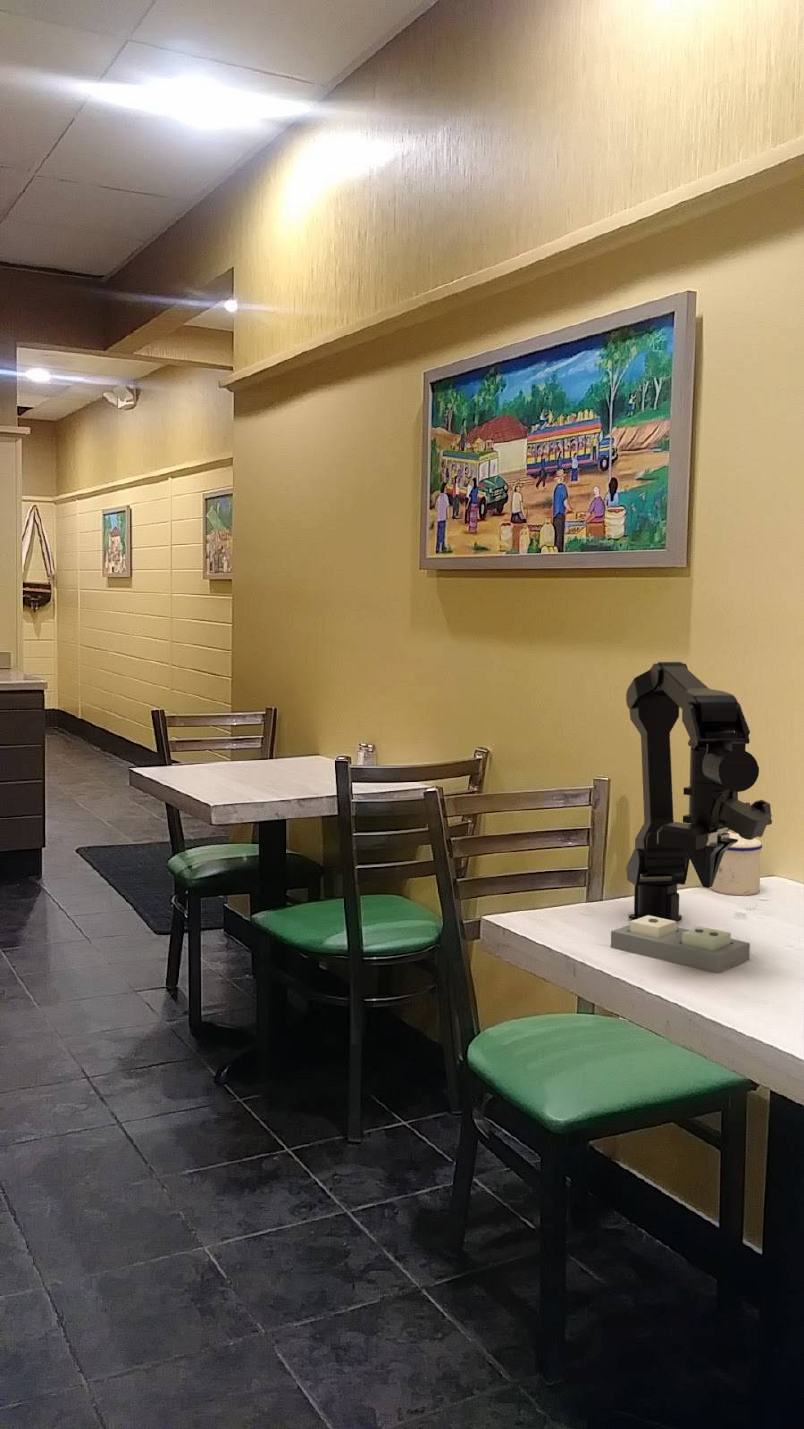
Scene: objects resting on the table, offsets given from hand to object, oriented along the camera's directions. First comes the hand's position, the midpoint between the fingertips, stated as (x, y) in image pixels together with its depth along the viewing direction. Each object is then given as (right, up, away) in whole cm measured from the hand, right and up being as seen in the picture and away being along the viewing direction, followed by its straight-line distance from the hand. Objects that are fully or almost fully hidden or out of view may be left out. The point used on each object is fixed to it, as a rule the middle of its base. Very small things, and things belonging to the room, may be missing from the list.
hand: (707, 887), depth 169 cm
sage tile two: (0, -9, +1) cm, 9 cm away
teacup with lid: (+15, -7, +44) cm, 47 cm away
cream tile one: (-6, -8, +7) cm, 13 cm away
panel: (-3, -10, +4) cm, 12 cm away
